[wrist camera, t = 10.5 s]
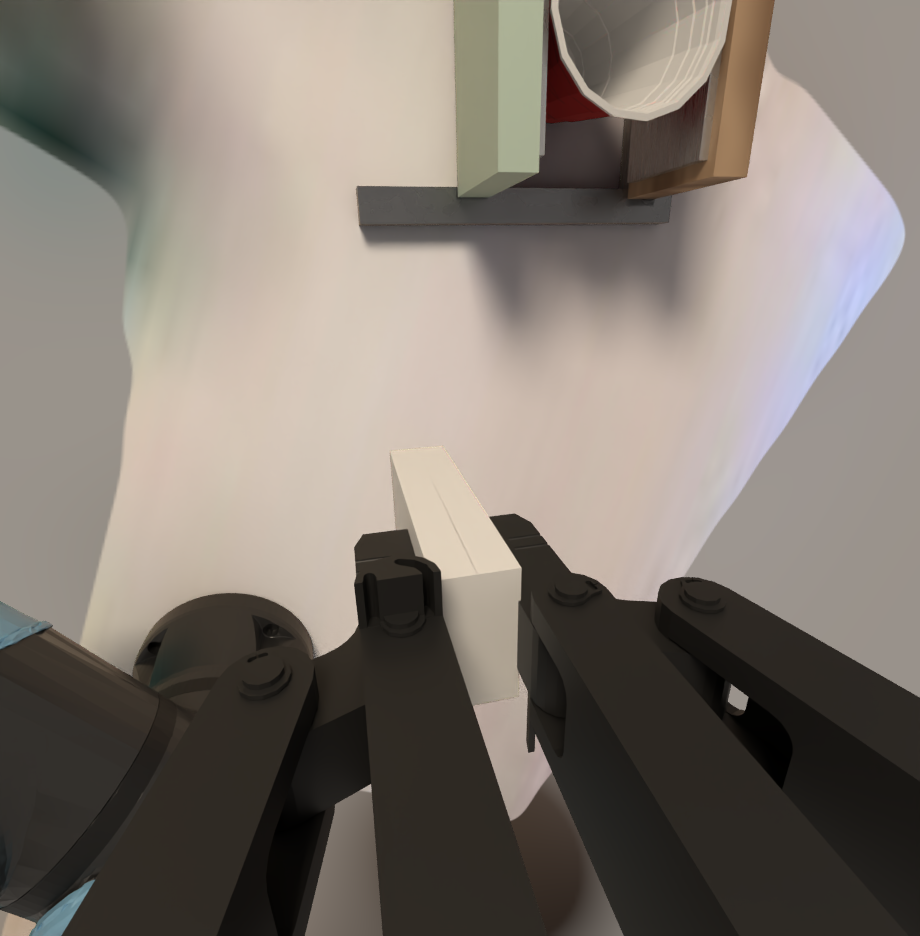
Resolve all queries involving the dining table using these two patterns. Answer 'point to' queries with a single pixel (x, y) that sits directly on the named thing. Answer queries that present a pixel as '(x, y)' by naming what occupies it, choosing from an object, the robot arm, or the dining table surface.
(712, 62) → the plastic cup
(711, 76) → the vise bed
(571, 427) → the dining table surface
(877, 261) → the dining table surface
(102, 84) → the dining table surface
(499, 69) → the block
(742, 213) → the dining table surface
